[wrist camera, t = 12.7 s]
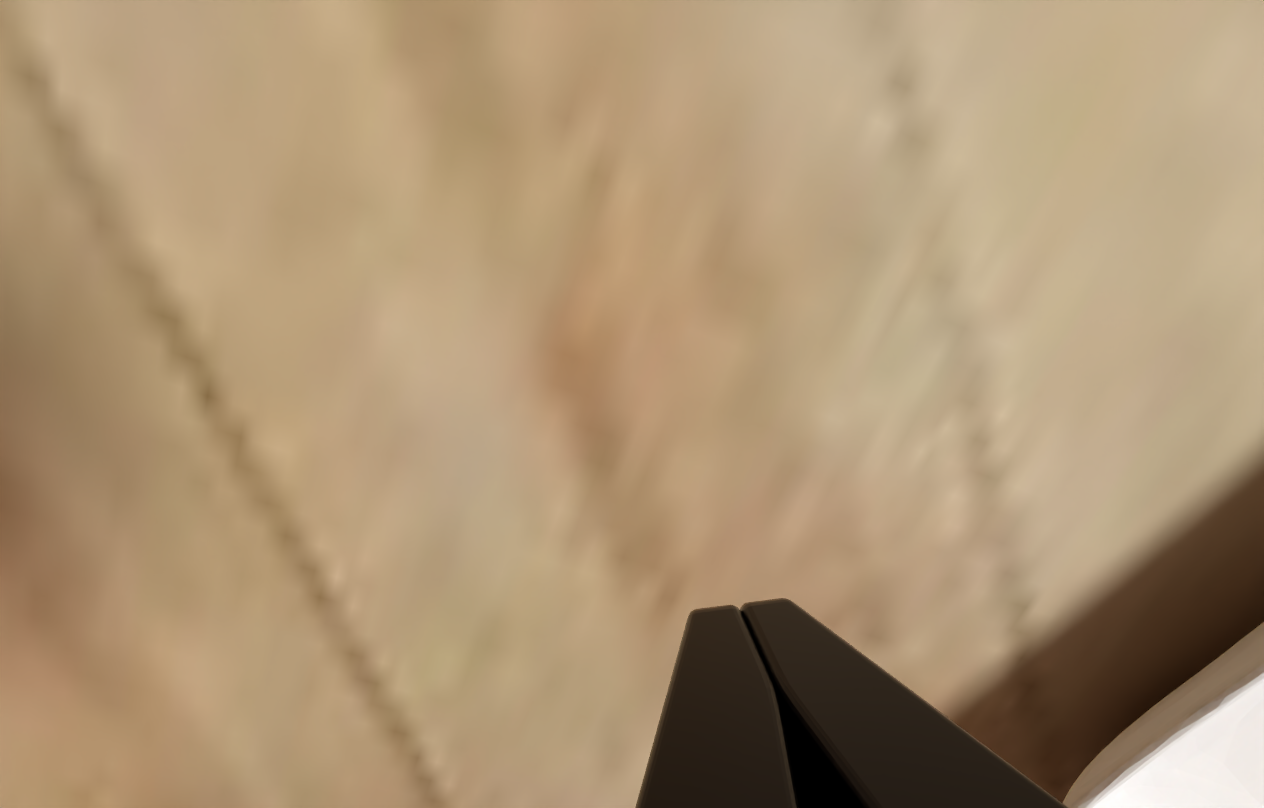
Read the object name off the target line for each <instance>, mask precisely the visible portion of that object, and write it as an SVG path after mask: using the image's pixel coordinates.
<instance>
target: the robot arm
mask: <svg viewBox="0 0 1264 808" xmlns="http://www.w3.org/2000/svg"><path fill="white" fill-rule="evenodd" d="M636 808H1068V807H1067V806H1065V805H1064V804H1063V803H1061V802H1060V801H1059V800H1057V799H1056V798H1055V797H1053V796H1052V795H1051V794H1049V793H1048V792H1047V791H1045V790H1044V789H1043V788H1041V787H1040V786H1039V785H1037V784H1036V783H1035V782H1033V781H1032V780H1031V779H1029V778H1028V777H1027V776H1025V775H1024V774H1023V773H1021V772H1020V771H1019V770H1017V769H1016V768H1015V767H1013V766H1012V765H1010V764H1009V763H1008V762H1006V761H1005V760H1004V759H1002V758H1001V757H1000V756H998V755H997V754H996V753H994V752H993V751H992V750H990V749H989V748H988V747H986V746H985V745H984V744H982V743H981V742H980V741H978V740H977V739H976V738H974V737H973V736H972V735H970V734H969V733H968V732H966V731H965V730H964V729H962V728H961V727H960V726H958V725H957V724H956V723H954V722H953V721H952V720H950V719H949V718H948V717H946V716H945V715H944V714H942V713H941V712H940V711H938V710H937V709H936V708H934V707H933V706H932V705H930V704H929V703H928V702H926V701H925V700H924V699H922V698H921V697H920V696H918V695H917V694H915V693H914V692H913V691H911V690H910V689H909V688H907V687H906V686H905V685H903V684H902V683H901V682H899V681H898V680H897V679H895V678H894V677H893V676H891V675H890V674H889V673H887V672H886V671H885V670H883V669H882V668H881V667H879V666H878V665H877V664H875V663H874V662H873V661H871V660H870V659H869V658H867V657H866V656H865V655H863V654H862V653H861V652H859V651H858V650H857V649H855V648H854V647H853V646H851V645H850V644H849V643H847V642H846V641H845V640H843V639H842V638H841V637H839V636H838V635H837V634H835V633H834V632H833V631H831V630H830V629H829V628H827V627H826V626H825V625H823V624H822V623H821V622H819V621H818V620H816V619H815V618H814V617H812V616H811V615H810V614H808V613H807V612H806V611H804V610H803V609H802V608H800V607H799V606H798V605H796V604H795V603H794V602H792V601H791V600H788V599H785V598H780V599H772V600H764V601H756V602H749V603H745V604H744V605H743V606H742V607H741V609H740V610H739V609H738V607H736V606H733V605H725V606H717V607H709V608H701V609H696V610H693V611H692V612H691V613H690V614H689V616H688V619H687V623H686V626H685V630H684V634H683V637H682V641H681V645H680V648H679V652H678V656H677V659H676V663H675V666H674V670H673V674H672V677H671V681H670V685H669V688H668V692H667V695H666V699H665V703H664V706H663V710H662V714H661V717H660V721H659V724H658V728H657V732H656V735H655V739H654V743H653V746H652V750H651V753H650V757H649V761H648V764H647V768H646V772H645V775H644V779H643V782H642V786H641V790H640V793H639V797H638V801H637V804H636Z"/></svg>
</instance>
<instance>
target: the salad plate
mask: <svg viewBox="0 0 1264 808" xmlns="http://www.w3.org/2000/svg"><path fill="white" fill-rule="evenodd" d="M1063 804H1064V805H1065V806H1067V807H1068V808H1264V622H1263V623H1261V624H1260V625H1259V626H1258V627H1256V628H1255V629H1254V630H1253V631H1251V632H1250V633H1249V634H1247V635H1246V636H1245V637H1244V638H1242V639H1241V640H1240V641H1239V642H1237V643H1236V644H1235V645H1233V646H1232V647H1231V648H1230V649H1228V650H1227V651H1226V652H1224V653H1223V654H1222V655H1221V656H1219V657H1218V658H1217V659H1215V660H1214V661H1213V662H1211V663H1210V664H1209V665H1207V666H1206V667H1205V668H1203V669H1202V670H1201V671H1199V672H1198V673H1197V674H1195V675H1194V676H1193V677H1191V678H1190V679H1189V680H1187V681H1186V682H1185V683H1183V684H1182V685H1181V686H1179V687H1178V688H1177V689H1175V690H1174V691H1173V692H1171V693H1170V694H1169V695H1167V696H1166V697H1165V698H1163V699H1162V700H1161V701H1159V702H1158V703H1157V704H1155V705H1154V706H1153V707H1151V708H1150V709H1149V710H1148V711H1147V712H1145V713H1144V714H1143V715H1142V716H1141V717H1139V718H1138V719H1137V720H1136V721H1135V722H1133V723H1132V724H1131V725H1130V726H1129V727H1127V728H1126V729H1125V730H1124V731H1123V732H1121V733H1120V734H1119V735H1118V736H1117V737H1116V738H1115V739H1114V740H1113V741H1112V742H1111V743H1110V744H1109V745H1108V746H1106V747H1105V748H1104V749H1103V750H1102V751H1101V752H1100V753H1099V754H1098V755H1097V756H1096V757H1095V758H1094V759H1093V760H1092V761H1091V763H1090V764H1089V765H1088V766H1087V767H1086V768H1085V769H1084V770H1083V772H1082V773H1081V774H1080V776H1079V777H1078V778H1077V780H1076V781H1075V782H1074V784H1073V785H1072V787H1071V788H1070V790H1069V792H1068V794H1067V795H1066V797H1065V799H1064V801H1063Z"/></svg>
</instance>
